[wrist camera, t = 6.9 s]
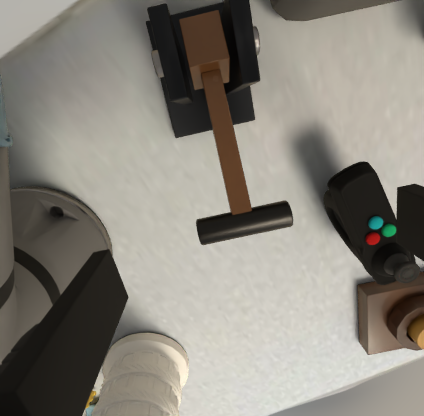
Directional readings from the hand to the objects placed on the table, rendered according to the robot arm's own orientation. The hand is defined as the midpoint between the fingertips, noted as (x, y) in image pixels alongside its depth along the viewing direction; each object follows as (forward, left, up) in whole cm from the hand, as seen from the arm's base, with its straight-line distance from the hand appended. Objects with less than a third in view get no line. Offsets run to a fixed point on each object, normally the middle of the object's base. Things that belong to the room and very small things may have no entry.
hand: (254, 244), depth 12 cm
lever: (0, +4, -6) cm, 7 cm away
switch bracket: (0, +9, -18) cm, 20 cm away
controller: (+12, -7, -18) cm, 23 cm away
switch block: (+20, -24, -18) cm, 36 cm away
